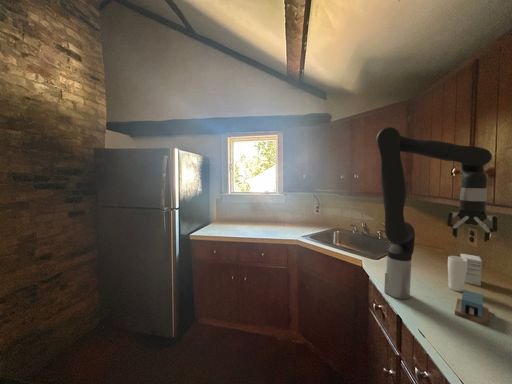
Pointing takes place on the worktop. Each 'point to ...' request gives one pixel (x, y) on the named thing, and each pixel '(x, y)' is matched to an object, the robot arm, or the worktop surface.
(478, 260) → the supplement box
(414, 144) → the robot arm
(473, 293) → the block
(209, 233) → the worktop surface
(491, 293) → the worktop surface
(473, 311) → the rail stand
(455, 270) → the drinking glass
